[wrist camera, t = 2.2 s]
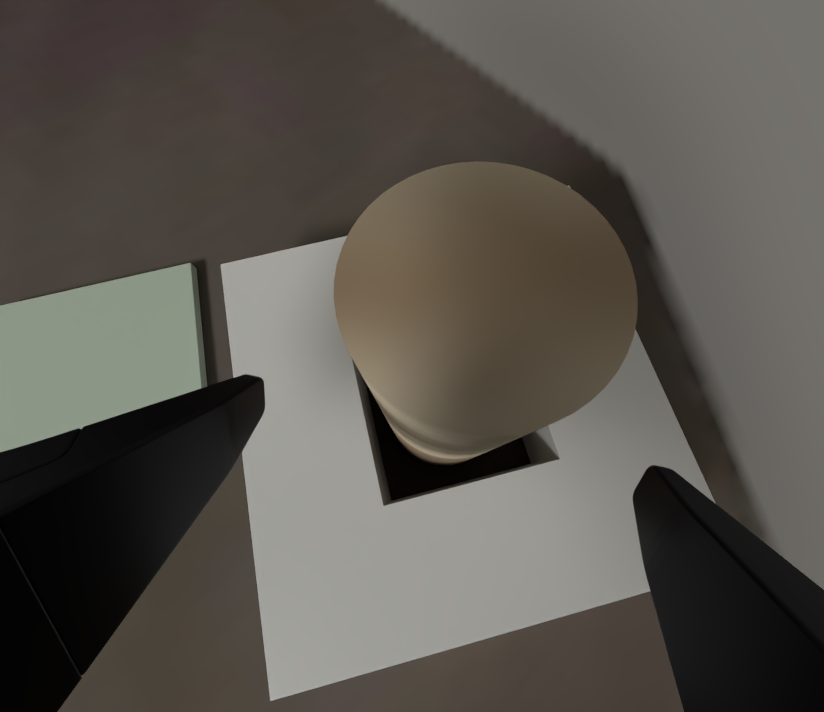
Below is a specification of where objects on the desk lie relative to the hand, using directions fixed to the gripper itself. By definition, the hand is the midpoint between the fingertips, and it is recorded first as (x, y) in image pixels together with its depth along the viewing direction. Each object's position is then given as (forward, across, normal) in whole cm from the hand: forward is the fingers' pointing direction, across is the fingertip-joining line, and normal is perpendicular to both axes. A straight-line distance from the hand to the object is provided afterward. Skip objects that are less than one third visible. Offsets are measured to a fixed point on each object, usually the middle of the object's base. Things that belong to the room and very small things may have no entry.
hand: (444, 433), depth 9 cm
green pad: (+7, +17, +7) cm, 20 cm away
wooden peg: (+8, 0, +5) cm, 10 cm away
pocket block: (+8, 0, +5) cm, 10 cm away
